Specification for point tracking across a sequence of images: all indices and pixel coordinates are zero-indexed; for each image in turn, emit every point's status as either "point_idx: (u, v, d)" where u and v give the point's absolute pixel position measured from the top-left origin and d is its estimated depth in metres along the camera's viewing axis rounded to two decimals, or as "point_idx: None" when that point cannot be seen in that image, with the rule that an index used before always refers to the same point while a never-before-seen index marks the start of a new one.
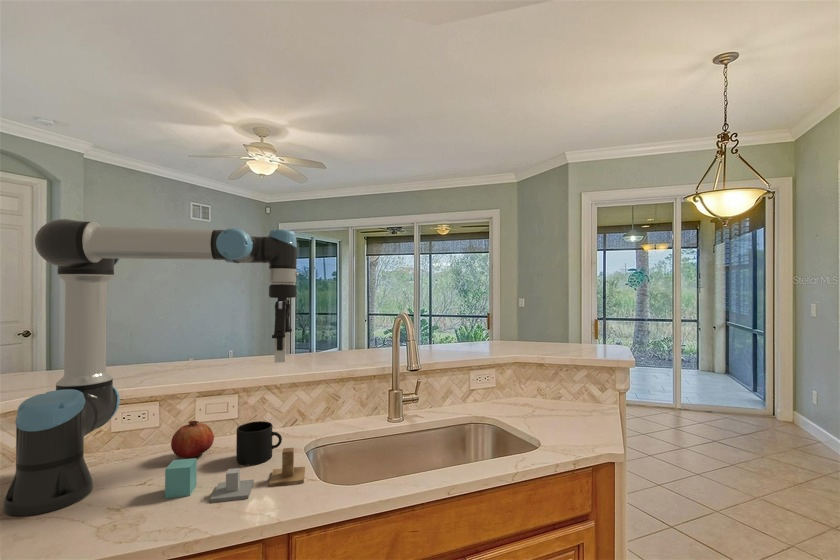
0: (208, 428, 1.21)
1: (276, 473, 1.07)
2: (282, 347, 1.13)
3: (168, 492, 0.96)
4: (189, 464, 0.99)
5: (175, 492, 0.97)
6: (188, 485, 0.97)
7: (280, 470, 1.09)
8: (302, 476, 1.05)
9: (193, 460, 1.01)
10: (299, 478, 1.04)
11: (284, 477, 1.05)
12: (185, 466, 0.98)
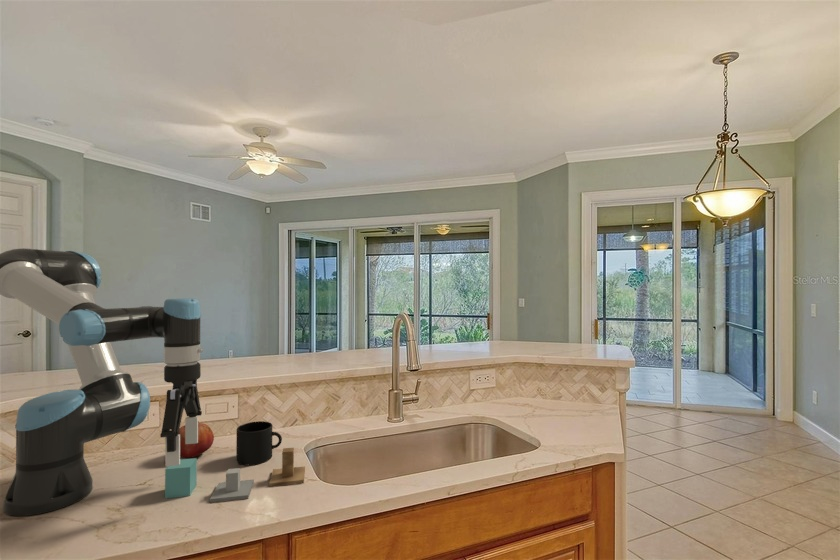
0: (208, 428, 1.21)
1: (276, 473, 1.07)
2: (174, 447, 0.92)
3: (168, 492, 0.96)
4: (189, 464, 0.99)
5: (175, 492, 0.97)
6: (188, 485, 0.97)
7: (280, 470, 1.09)
8: (302, 476, 1.05)
9: (193, 460, 1.01)
10: (299, 478, 1.04)
11: (284, 477, 1.05)
12: (185, 466, 0.98)
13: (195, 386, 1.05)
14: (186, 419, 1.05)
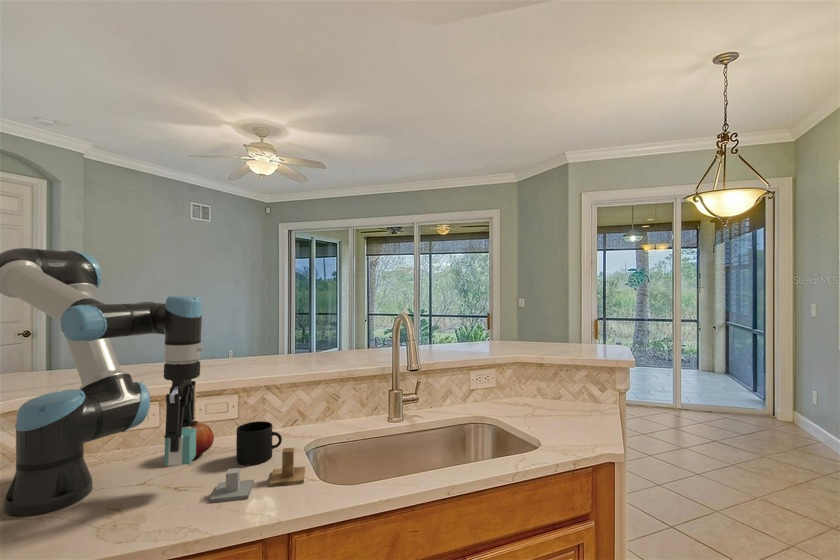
0: (208, 428, 1.21)
1: (276, 473, 1.07)
2: (177, 448, 0.96)
3: None
4: (189, 433, 0.99)
5: None
6: (187, 453, 0.98)
7: (280, 470, 1.09)
8: (302, 476, 1.05)
9: (193, 430, 1.01)
10: (299, 478, 1.04)
11: (284, 477, 1.05)
12: (184, 435, 0.98)
13: (193, 388, 1.05)
14: None
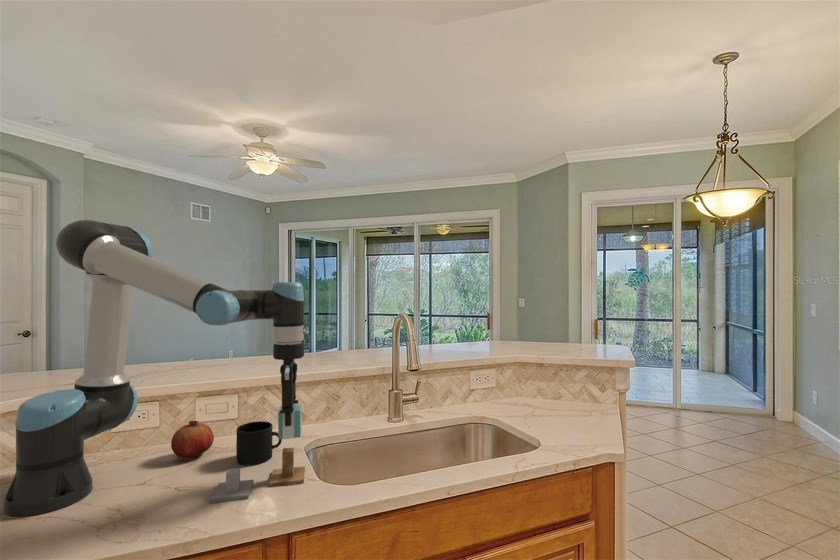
0: (208, 428, 1.21)
1: (276, 473, 1.07)
2: (291, 422, 1.03)
3: (281, 433, 1.04)
4: (297, 409, 1.06)
5: None
6: (298, 427, 1.05)
7: (280, 470, 1.09)
8: (302, 476, 1.05)
9: (299, 406, 1.09)
10: (299, 478, 1.04)
11: (284, 477, 1.05)
12: (295, 410, 1.05)
13: None
14: None
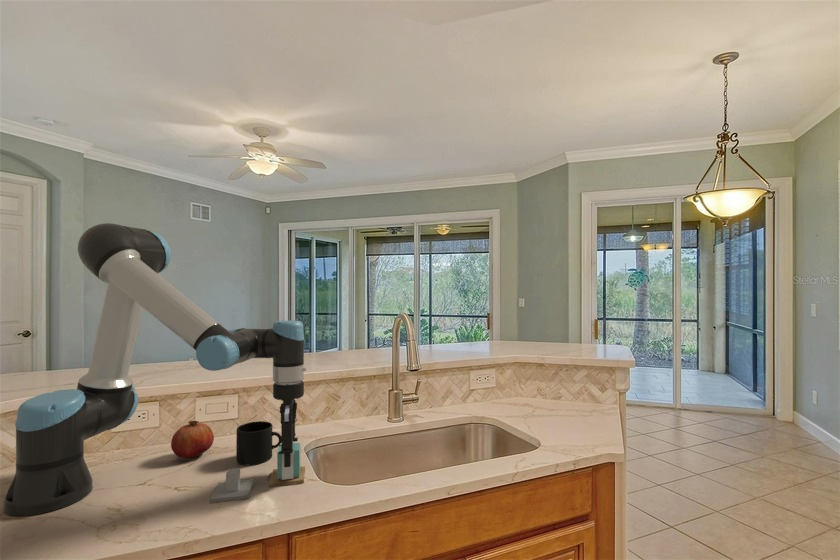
0: (208, 428, 1.21)
1: (276, 473, 1.07)
2: (290, 463, 1.03)
3: (280, 473, 1.04)
4: (297, 448, 1.06)
5: None
6: (297, 467, 1.05)
7: None
8: (302, 476, 1.05)
9: (298, 444, 1.08)
10: (299, 478, 1.04)
11: None
12: (294, 450, 1.05)
13: None
14: None
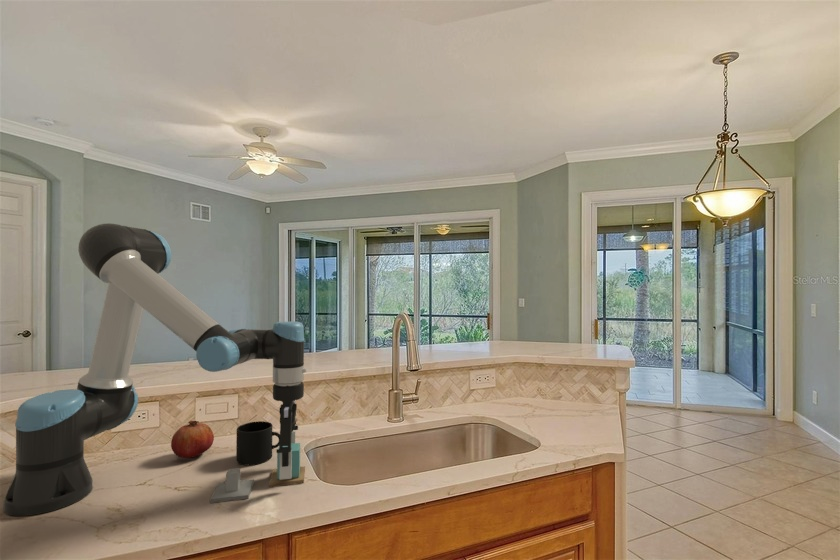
0: (208, 428, 1.21)
1: (276, 473, 1.07)
2: (288, 462, 0.99)
3: None
4: (297, 448, 1.06)
5: None
6: (297, 467, 1.05)
7: None
8: (302, 476, 1.05)
9: (298, 444, 1.08)
10: (299, 478, 1.04)
11: None
12: (294, 450, 1.05)
13: (294, 403, 1.13)
14: None
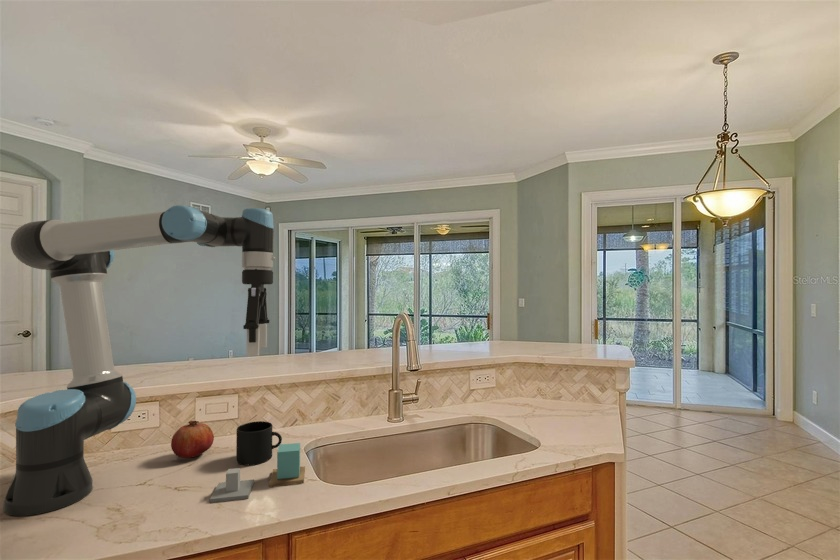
0: (208, 428, 1.21)
1: (276, 473, 1.07)
2: (255, 339, 1.01)
3: (280, 473, 1.04)
4: (297, 448, 1.06)
5: (286, 473, 1.04)
6: (297, 467, 1.05)
7: None
8: (302, 476, 1.05)
9: (298, 444, 1.08)
10: (299, 478, 1.04)
11: None
12: (294, 450, 1.05)
13: None
14: None
